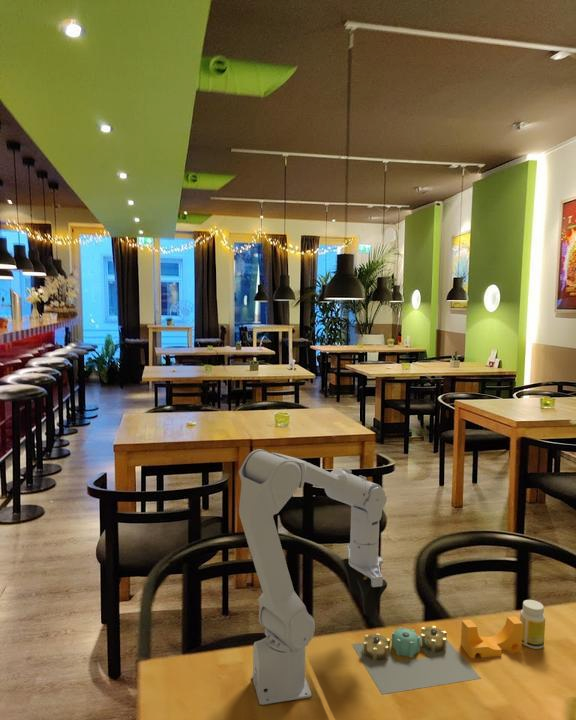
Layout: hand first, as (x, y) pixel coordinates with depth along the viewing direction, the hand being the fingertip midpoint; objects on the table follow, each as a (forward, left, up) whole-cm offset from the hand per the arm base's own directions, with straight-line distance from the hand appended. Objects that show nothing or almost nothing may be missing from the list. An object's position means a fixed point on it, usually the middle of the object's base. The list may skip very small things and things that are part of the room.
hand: (362, 603), depth 110 cm
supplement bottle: (+36, -6, -10) cm, 38 cm away
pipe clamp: (+26, -8, -10) cm, 29 cm away
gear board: (+8, -8, -9) cm, 14 cm away
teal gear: (+8, -4, -9) cm, 13 cm away
